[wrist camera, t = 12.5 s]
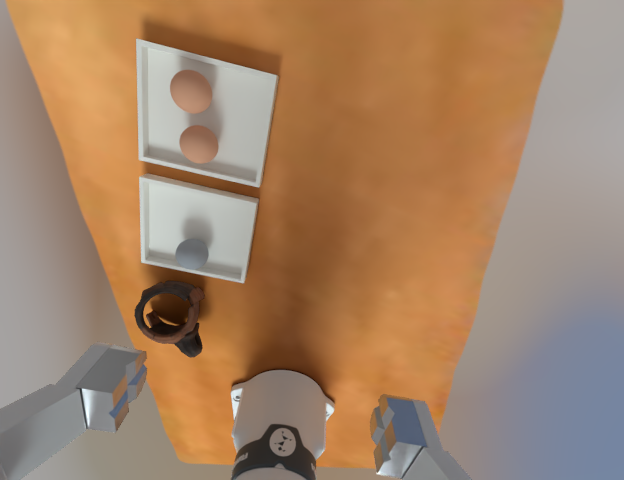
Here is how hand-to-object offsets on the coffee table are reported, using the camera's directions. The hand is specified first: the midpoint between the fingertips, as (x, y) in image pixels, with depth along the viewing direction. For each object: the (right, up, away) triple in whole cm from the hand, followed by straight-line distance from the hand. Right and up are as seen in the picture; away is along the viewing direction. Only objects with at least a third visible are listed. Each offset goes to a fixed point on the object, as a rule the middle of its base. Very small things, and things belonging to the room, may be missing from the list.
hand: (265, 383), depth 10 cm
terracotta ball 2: (-11, +16, +24) cm, 31 cm away
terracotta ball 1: (-10, +21, +22) cm, 31 cm away
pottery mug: (-18, -5, +36) cm, 40 cm away
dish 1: (-10, +19, +24) cm, 32 cm away
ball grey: (-14, +4, +30) cm, 33 cm away
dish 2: (-13, +6, +30) cm, 33 cm away
